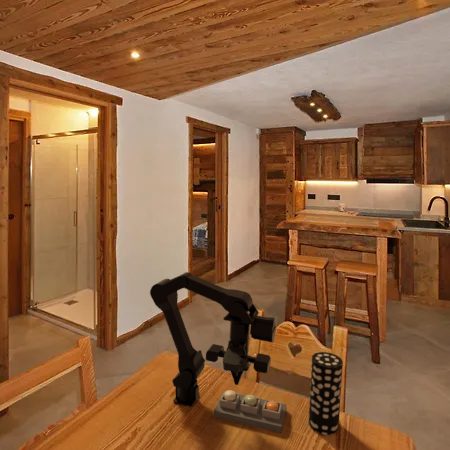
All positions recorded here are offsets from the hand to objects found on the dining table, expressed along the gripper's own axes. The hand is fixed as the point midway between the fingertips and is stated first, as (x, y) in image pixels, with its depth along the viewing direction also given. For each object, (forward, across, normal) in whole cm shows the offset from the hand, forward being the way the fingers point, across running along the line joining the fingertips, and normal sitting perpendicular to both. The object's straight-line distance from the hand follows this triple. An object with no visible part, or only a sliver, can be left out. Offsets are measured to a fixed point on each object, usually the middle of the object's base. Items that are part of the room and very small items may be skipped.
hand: (236, 384), depth 104 cm
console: (+8, +5, 0) cm, 10 cm away
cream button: (+6, -2, 0) cm, 6 cm away
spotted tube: (+8, +26, +2) cm, 27 cm away
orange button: (+6, +11, 0) cm, 13 cm away
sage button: (+5, +5, 0) cm, 7 cm away
